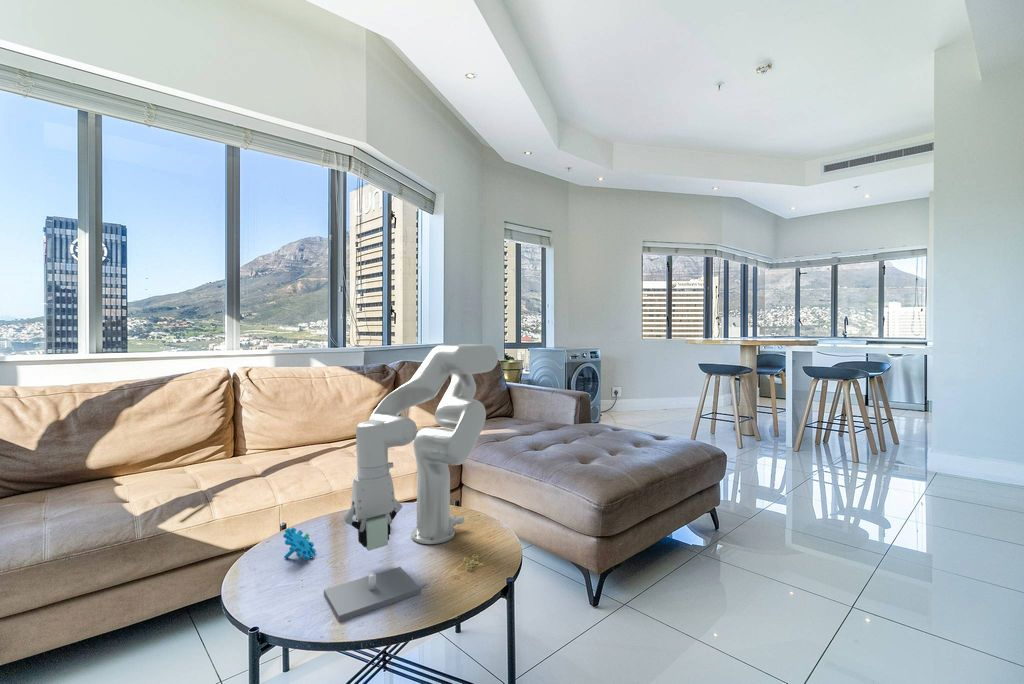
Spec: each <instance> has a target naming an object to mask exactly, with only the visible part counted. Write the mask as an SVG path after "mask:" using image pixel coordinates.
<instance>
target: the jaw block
mask: <svg viewBox="0 0 1024 684" xmlns="http://www.w3.org/2000/svg"><path fill="white" fill-rule="evenodd" d="M365 530H366V532H367V546H366V547H364V548H365V549H366V550H367V551H368V552H370V551H373V550H376V549H379V548H383V547H386V546H389V540H388V525H387V517H386V516H385V515H380V516H376V517H373V518H369V519H367V521H366V525H365Z"/></svg>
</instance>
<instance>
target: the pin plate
mask: <svg viewBox="0 0 1024 684" xmlns="http://www.w3.org/2000/svg"><path fill="white" fill-rule="evenodd" d="M421 590H422V589H421V587H420V586H419V585H418V584H417V583H416V581H414V579H413V578H412V577H411V576H410V575H409V574H408V573H407V572H406V571H405V569H403V568H402V567H401V566H397V567H394V568H391V569H386V570H384V571H380V572H377V573H370V574H368V576H365V577H361V578H357V579H353V580H351V581H347V582H344V583H341V584H337V585H334V586H332V587H330V586H329V587H327V588H324V589H323V597H325V599H326V602H327V603H328V604H329V606H330V608H331V610H332V612H333V615H335V617H336V619H337V622H342V621H344V620H345V621H346V620H347V619H351V618H354V617H356V616H359V615H362V614H365V613H368V612H371V611H375V610H376V609H379V608H383V607H385V606H388V605H391V604H394V603H397V602H400V601H403V600H405V598H406V599H408V597H409V598H411V597H414V596H417V595H420V594H421V592H422V591H421ZM419 593H420V594H419ZM416 594H417V595H416ZM413 595H414V596H413Z"/></svg>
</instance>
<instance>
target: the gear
mask: <svg viewBox="0 0 1024 684" xmlns="http://www.w3.org/2000/svg"><path fill="white" fill-rule="evenodd" d="M303 534H304V532H303V531H302V530H301V529H299V530H298V531H297V529H296V528H295V527H291V528H286V529H285V531H284V534H283V536H282V537H283V538H284V539H285V540H284V544H285V545H287V546H290V547H289V548H288V549H289V551H288V552H287V553H286V554H284V555H283V558H284V559H285V558H287V559H289V558H290V556H292V555H293V554H294V552H297V553H296V554H295V556H297V558H299V559H300V558H301V557H302V558H303V560H306V561H308V560H309V559H312V558H311V557H313V556H314V557H315V553H316V551H317V550H316V549H315V547H314V546H315V544H314V542H312V541H310V534H309V533H305V535H303ZM314 557H313V558H314Z"/></svg>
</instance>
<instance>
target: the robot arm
mask: <svg viewBox="0 0 1024 684" xmlns="http://www.w3.org/2000/svg"><path fill="white" fill-rule="evenodd" d="M498 361H499V353H498V351H497V349H496V348H495V347H494V346H493V345H491V344H488V343H485V344H484V343H482V344H481V343H478V344H477V343H459V344H439V345H436V346H435V347H433V348H432V349H431V350H430V352H429V353H428V355H427V356H426V357H425V358H424V359H423V362H422V363H421V365H419V367H418V368H417V370H416V371H415V373H414V375H413V376H412V377H411V379H410V380H408V381H407V382H405V383H404V384H401V386H399V387H398V388H396V389H395V390H393V391H392V392H390V393H389V394H387V395H386V396H385V397H384V398H383V399H382V400H381V401H380V403H378V405H377V407H376V408H375V409H374V410H373V412H372V413H371V415H370V416H369V418H368V420H367V421H362V422H360V423H358V425H356V429H355V441H356V442H355V445H356V446H355V447H356V476H354V477H353V479H352V480H353V482H352V488H351V497H350V509H349V510H348V511H347V513H346V515H345V517H344V518H343V521H344V523H346V524H347V525H350V526H352V527H353V528H355V529H356V530H357V539H358V543H359V544H361V546H362V547H363V548H365V547H366V546H367V532H366V530H365V525H366V521H367V519H369V518H373V517H376V516H380V515H385V516H386V517H387V525H388V541H389V540H390V535H391V524H392V523H393V520H394V518H395V517H396V516H397V514H398V513H399V512H400V511H401V509H403V505H402V504H401V503H400V502H399V501H398V500H397V499H396V497H395V496H396V495H395V488H394V481H393V478H392V475H391V472H390V470H391V469H393V468H394V462H393V461H392V462H390V461H389V454H388V453H389V452H388V451H389V450H388V449H389V448H395V447H402V446H406V445H409V444H410V443H412V442H413V452H414V458H415V463H416V464H415V465H416V527H415V528H413V529H412V530H411V533H410V535H411V536H410V537H411V539H412V540H413V541H414V542H416V543H419V544H422V545H424V544H425V545H437V544H442V543H446V542H449V541H451V539H453V538H454V537H455V535H456V529H455V528H454V527H456V525H461V524H462V525H463V524H464V523H465V521H466V520H465V517H464V516H459V517H457V516H456V515H452V516H451V506H450V505H451V474H450V472H451V471H450V469H449V465H452V466H459V465H462V464H464V463H465V462H466V461H467V460H468V459H469V457H470V456H471V454H472V452H473V449H474V448H475V445H476V443H477V441H478V440H479V437H480V435H481V432H482V430H483V429H484V426H485V423H486V418H487V411H486V407H485V405H484V404H483V402H481V401H479V400H477V399H475V395H476V392H477V384H476V382H475V379H474V376H473V375H475V374H477V375H478V374H482V373H483V374H484V373H489V372H491V371H492V370H494V369H495V368H496V366H497V364H498ZM449 376H451V378H450V379H451V380H450V383H449V385H448V388H447V389H446V391H445V393H444V395H443V396H442V398H441V399H440V402H439V404H438V405H437V408H436V410H435V413H434V420H435V423H436V424H437V425H439V426H440V427H439V426H426V427H423V428H421V429H419V430H418V426H417V423H416V422H415V421H414V420H413V419H411V418H409V417H406V416H401V415H400V414H402V413H403V412H405V411H406V410H407V409H410V408H412V407H414V406H417V405H421V404H424V403H426V402H428V401H431V400H434V399H435V397H437V396H438V393H439V392H440V390H441V388H442V387H443V385H444V384H445V383H446V381H447V379H448V378H449ZM354 516H355V519H358V520H355V519H353V518H354Z"/></svg>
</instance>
